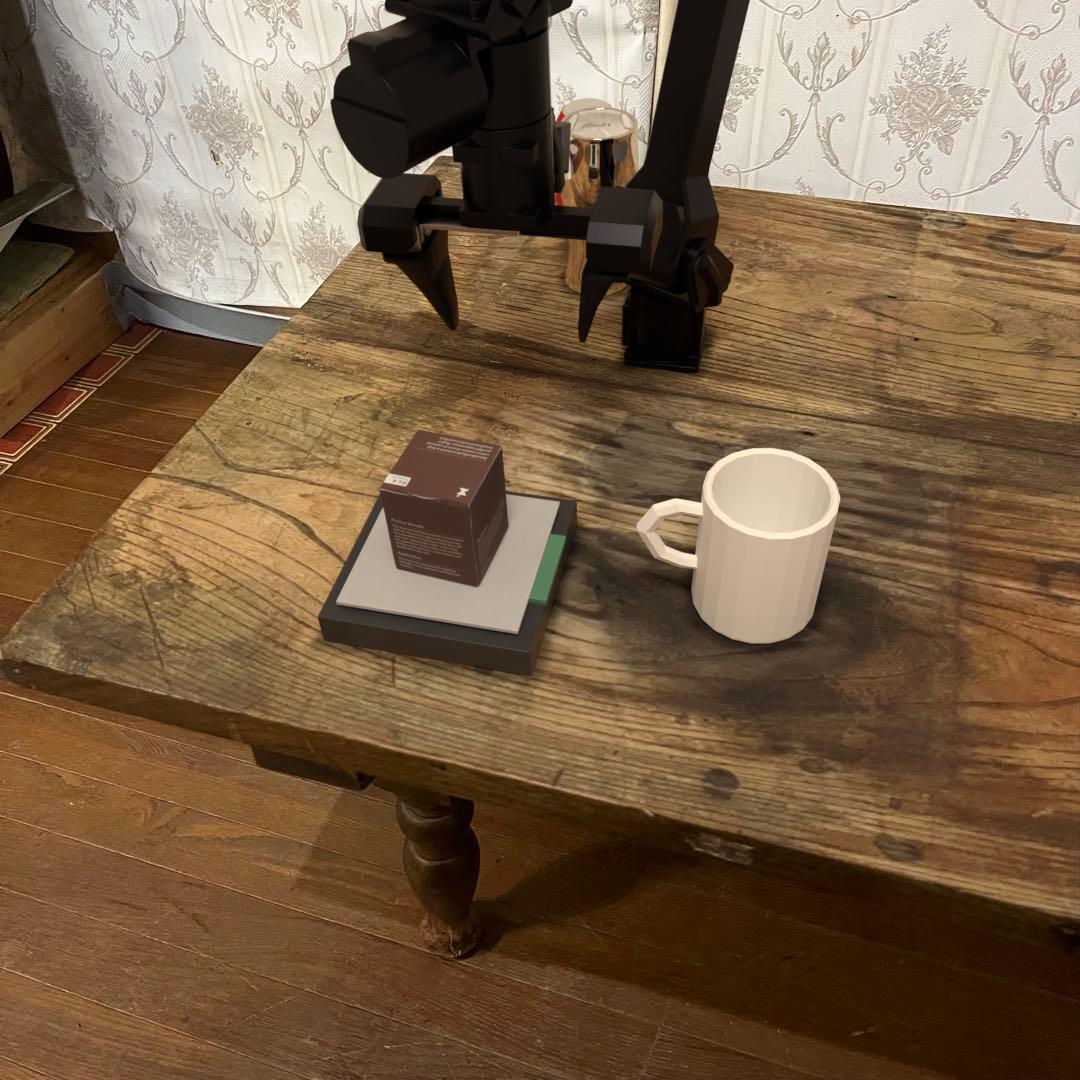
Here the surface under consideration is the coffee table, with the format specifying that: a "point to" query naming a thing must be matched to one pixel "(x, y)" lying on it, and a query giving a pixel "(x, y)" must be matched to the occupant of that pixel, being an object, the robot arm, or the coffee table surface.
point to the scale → (456, 593)
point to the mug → (754, 542)
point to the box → (446, 506)
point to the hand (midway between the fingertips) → (518, 333)
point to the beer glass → (596, 169)
